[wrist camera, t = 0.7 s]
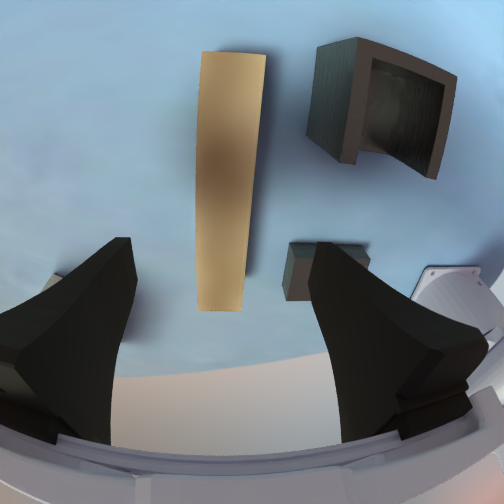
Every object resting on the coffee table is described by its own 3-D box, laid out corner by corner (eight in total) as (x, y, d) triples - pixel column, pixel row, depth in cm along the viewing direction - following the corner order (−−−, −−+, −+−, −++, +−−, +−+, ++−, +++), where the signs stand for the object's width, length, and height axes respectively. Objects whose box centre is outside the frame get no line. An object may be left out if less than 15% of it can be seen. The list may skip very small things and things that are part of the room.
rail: (257, 60, 15) (266, 55, 11) (238, 275, 23) (241, 311, 20) (207, 57, 14) (201, 51, 11) (200, 275, 23) (198, 310, 20)
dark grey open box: (399, 69, 15) (457, 76, 10) (386, 149, 18) (436, 179, 13) (317, 47, 14) (357, 36, 9) (306, 136, 17) (339, 162, 12)
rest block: (361, 245, 22) (370, 259, 21) (348, 283, 25) (355, 299, 23) (289, 242, 22) (294, 258, 20) (281, 284, 24) (286, 301, 22)
